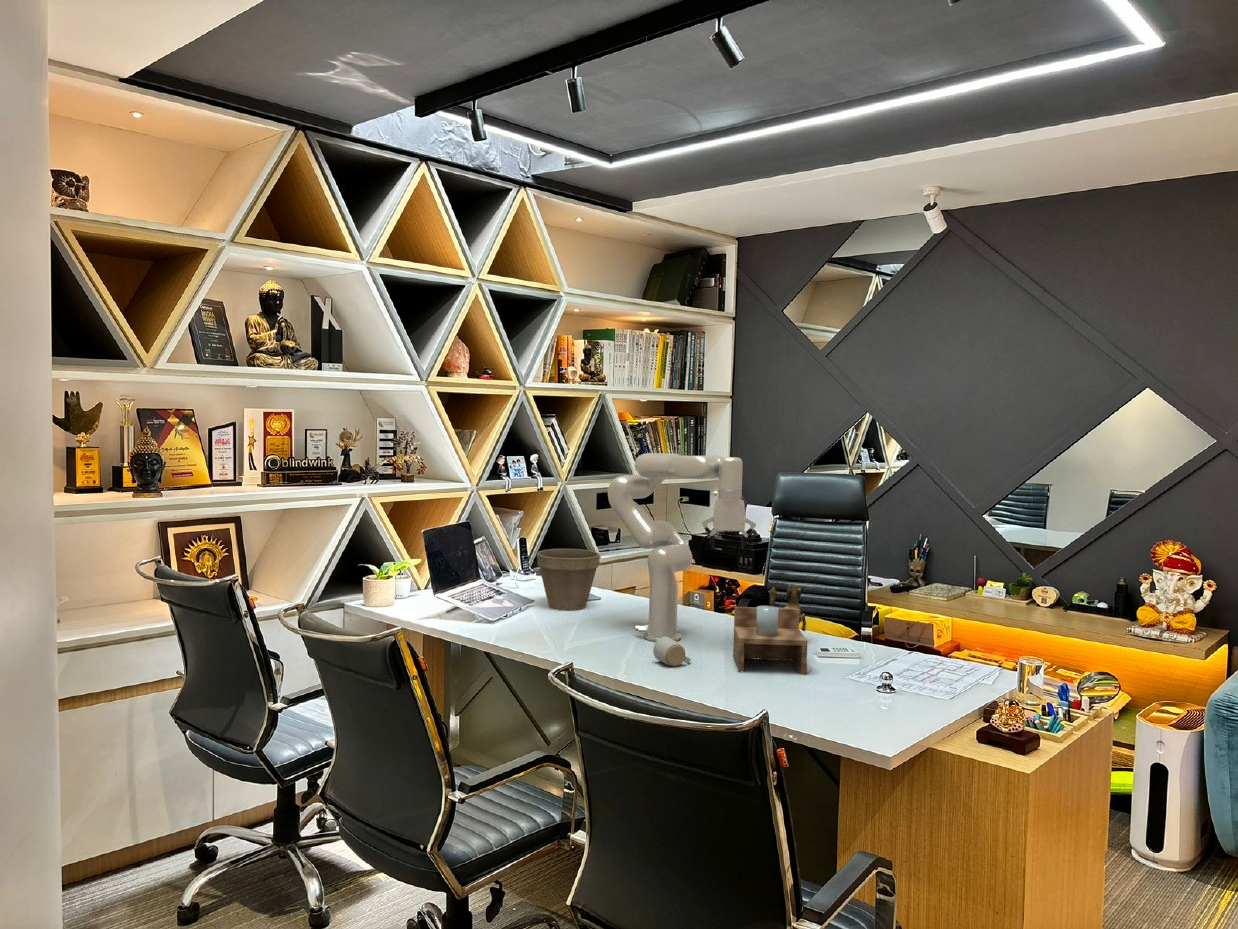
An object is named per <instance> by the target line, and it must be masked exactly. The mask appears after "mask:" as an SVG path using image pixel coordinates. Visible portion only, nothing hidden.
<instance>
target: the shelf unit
mask: <svg viewBox="0 0 1238 929" xmlns="http://www.w3.org/2000/svg"><path fill="white" fill-rule="evenodd" d="M733 615H734V617H733V618H734V621H733V645H732V646H733V647H732V648H733V649H732V652H733V653H732V659H733V658H734V659H733V661H734V665H735V666H736V670H737V669H738V670H737V672H738V671H743V672H744V666H745V665H744V663H745V661H744V660H745V659H744V658H756V659H755V660H766V659H778V660H777V661H792V662H793V661H794V662H793V663H794V665H795V664H796V665H795V667H796V668H797V667H798V668H797V669H799V670H798V671H799V673H800V675H807V667H808V666H807V665H808V640H807V638H806V637H805V635H804V634H803V632H802V630H800V629H799V628H800V623H799V609H786V608H778V633H777V635H776V636H762V635H758V634H756V620H757V606H756V607H755V606H754V607H750V606H734V612H733ZM757 658H759V659H757Z"/></svg>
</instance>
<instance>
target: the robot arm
mask: <svg viewBox="0 0 1238 929" xmlns="http://www.w3.org/2000/svg"><path fill="white" fill-rule="evenodd" d="M634 470H635V472H636V473H637V474H624V475H619V476H617V477H614V478H613V479H612V481H610V483H609V485H608V488H607V498H608V502H609V505H610V507H611V509H612V510H613V512H614V513H615V515H616V516H618V518H619V520H621V522H622V523H623V525H624V527H625V528H626V529H627V531H628V532H629V533H630V535H631V536H632V538H633V539H634V541H635V542H636V543H637V545H638V546H639V547H640V548H642V549H645V550H650V549H651V551H650V552H649V554H648V556H647V567H648V574H649V604H648V605H649V607H648V608H649V610H648V623H647V624H645V625H638V624H637V625H635V632H638V633H644V634H643V638H644V639H645V640H647V641H651V642H656V641H657V640H658V639H660V638H661V637H669V638H671V639H673V640H674V641H676V642H678V641H680V640H681V639H682V635H681V634H680V633H678V632H677V628H678V626H677V625H678V624H677V623H678V594H679V593H678V591H679V590H678V588H679V586H678V581H677V578H676V574H675V573H678V572H683V571H687V570H688V569H689V568H690V567H691V566H692V564H693V554H692V551H691V549H690V547H689V546H688V544H687V543H686V541H685V540H684V538H683V537H682V536H681V535H680V533H679V532H678V530H676V528H675V527H674V526H673V524H671V523H670V522H668V521H666V520H663V519H658V520H653V519H651V517H650V516H649V515H648V514H647V512H646V511H645V510H644V508H643V507H642V506H641V505H639V504H638V503H637V502H636V501H634V500H637V499H645V498H647V497H649V496H650V495H652V494H653V493H654V492H655V490H656V489H657V488H658V487H659V486H660V485H661V484H662V483H663V482H664V481H665V480H666V479H673V480H677V479H683V480H684V479H685V480H687V479H688V480H691V479H692V480H705V479H711V480H712V479H718V483H717V485H718V487H717V491H716V490H715V491H713V496H716V497H717V498H716V499H715V501H714V508H713V514H712V517H709V518H707V519H704V520H703V521H701V525H702V527H703V529H704V530H705V532H706V533H707V534H708V535H709V546H710V547H711V549H715V548H716V547H715V546H716V545H715V544H716V543H715V542H716V540H715V539H716V537H715V534H716V533H717V532H718V531H719V532H740V533H741V534H742V536H741V546H740V548H741V549H742V551H744V550H745V548H747V547H748V546H747V544H748V536H750V535H751V534H752V533H753V532H754V529H755V528H756V526H757V523H756V522H754V521H752V520H750V519H748V518H746V507H745V506H746V504H745V501H744V499H742V493H743V492H742V489H743V460H742V459H741V458H740V457H736V456H733V457H732V456H721V455H680V454H678V453H666V452H665V453H662V452H661V453H660V452H656V453H655V452H654V453H653V452H647V453H642V454H640V455H639V456H637V458H636V459H635V461H634ZM710 523H712V529H710V528H709V526H708V524H710ZM746 524H748V525H750V527H749V528H748V529H747V530H745V529H746Z"/></svg>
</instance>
